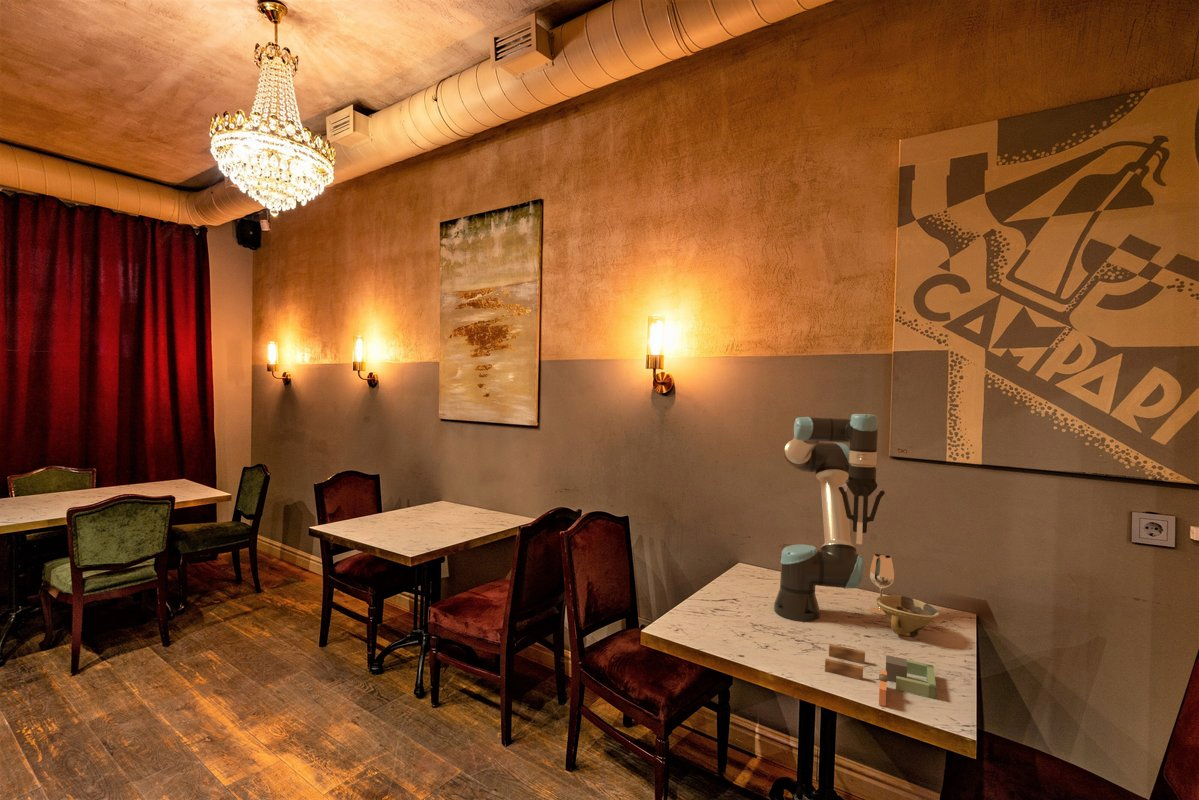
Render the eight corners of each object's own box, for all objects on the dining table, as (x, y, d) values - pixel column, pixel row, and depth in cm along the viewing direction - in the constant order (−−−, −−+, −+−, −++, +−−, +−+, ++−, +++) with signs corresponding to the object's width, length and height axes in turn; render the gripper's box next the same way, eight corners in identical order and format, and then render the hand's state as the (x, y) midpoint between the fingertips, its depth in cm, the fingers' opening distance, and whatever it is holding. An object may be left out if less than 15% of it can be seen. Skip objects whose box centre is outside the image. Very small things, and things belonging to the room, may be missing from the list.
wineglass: (864, 607, 207) (866, 552, 207) (884, 607, 208) (886, 552, 208) (876, 615, 199) (878, 559, 199) (897, 615, 200) (899, 559, 200)
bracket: (895, 689, 149) (896, 678, 149) (895, 667, 161) (896, 657, 161) (935, 699, 145) (936, 687, 145) (932, 676, 157) (933, 665, 157)
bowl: (919, 649, 174) (920, 618, 173) (864, 628, 189) (865, 599, 189) (949, 638, 183) (950, 608, 183) (895, 618, 198) (896, 590, 198)
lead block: (885, 680, 154) (886, 662, 154) (885, 672, 159) (886, 654, 158) (906, 685, 152) (907, 666, 152) (905, 677, 156) (906, 659, 156)
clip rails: (824, 671, 158) (825, 660, 158) (829, 654, 169) (829, 644, 169) (862, 680, 154) (862, 669, 154) (864, 662, 164) (865, 651, 164)
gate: (877, 704, 141) (878, 684, 141) (878, 684, 151) (879, 666, 151) (886, 706, 141) (887, 686, 140) (887, 686, 150) (888, 667, 150)
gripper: (837, 464, 171) (834, 542, 172) (886, 468, 165) (883, 549, 166) (840, 462, 178) (837, 537, 178) (886, 465, 172) (883, 543, 172)
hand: (859, 542), depth 172 cm, fingers closed
